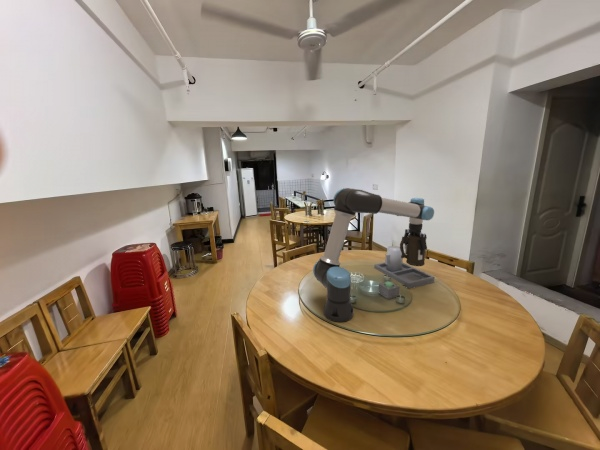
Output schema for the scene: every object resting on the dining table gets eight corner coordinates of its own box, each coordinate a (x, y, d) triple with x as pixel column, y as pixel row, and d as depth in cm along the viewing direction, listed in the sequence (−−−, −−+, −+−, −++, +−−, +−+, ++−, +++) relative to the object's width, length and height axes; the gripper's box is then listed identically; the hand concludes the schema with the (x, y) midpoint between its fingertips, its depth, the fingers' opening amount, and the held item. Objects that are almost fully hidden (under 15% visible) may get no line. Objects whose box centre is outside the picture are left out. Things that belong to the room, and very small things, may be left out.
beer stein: (420, 259, 156) (421, 231, 152) (429, 266, 146) (430, 235, 141) (397, 261, 157) (397, 233, 152) (404, 268, 147) (404, 238, 142)
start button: (393, 293, 135) (394, 283, 134) (388, 294, 134) (388, 285, 133) (388, 290, 139) (389, 281, 137) (383, 291, 137) (384, 282, 136)
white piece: (405, 271, 164) (406, 249, 160) (390, 274, 160) (392, 252, 156) (394, 265, 174) (395, 245, 170) (380, 268, 169) (381, 247, 166)
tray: (434, 282, 149) (434, 277, 148) (409, 289, 142) (409, 283, 141) (396, 264, 179) (396, 259, 178) (374, 269, 171) (374, 264, 171)
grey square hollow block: (398, 296, 134) (399, 286, 133) (387, 299, 132) (388, 289, 130) (389, 289, 142) (389, 280, 140) (378, 292, 139) (378, 283, 138)
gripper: (436, 225, 136) (432, 261, 141) (406, 219, 156) (404, 250, 161) (426, 227, 133) (423, 263, 138) (397, 220, 153) (395, 252, 159)
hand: (413, 256), depth 150 cm, fingers closed on beer stein, 10 cm apart
